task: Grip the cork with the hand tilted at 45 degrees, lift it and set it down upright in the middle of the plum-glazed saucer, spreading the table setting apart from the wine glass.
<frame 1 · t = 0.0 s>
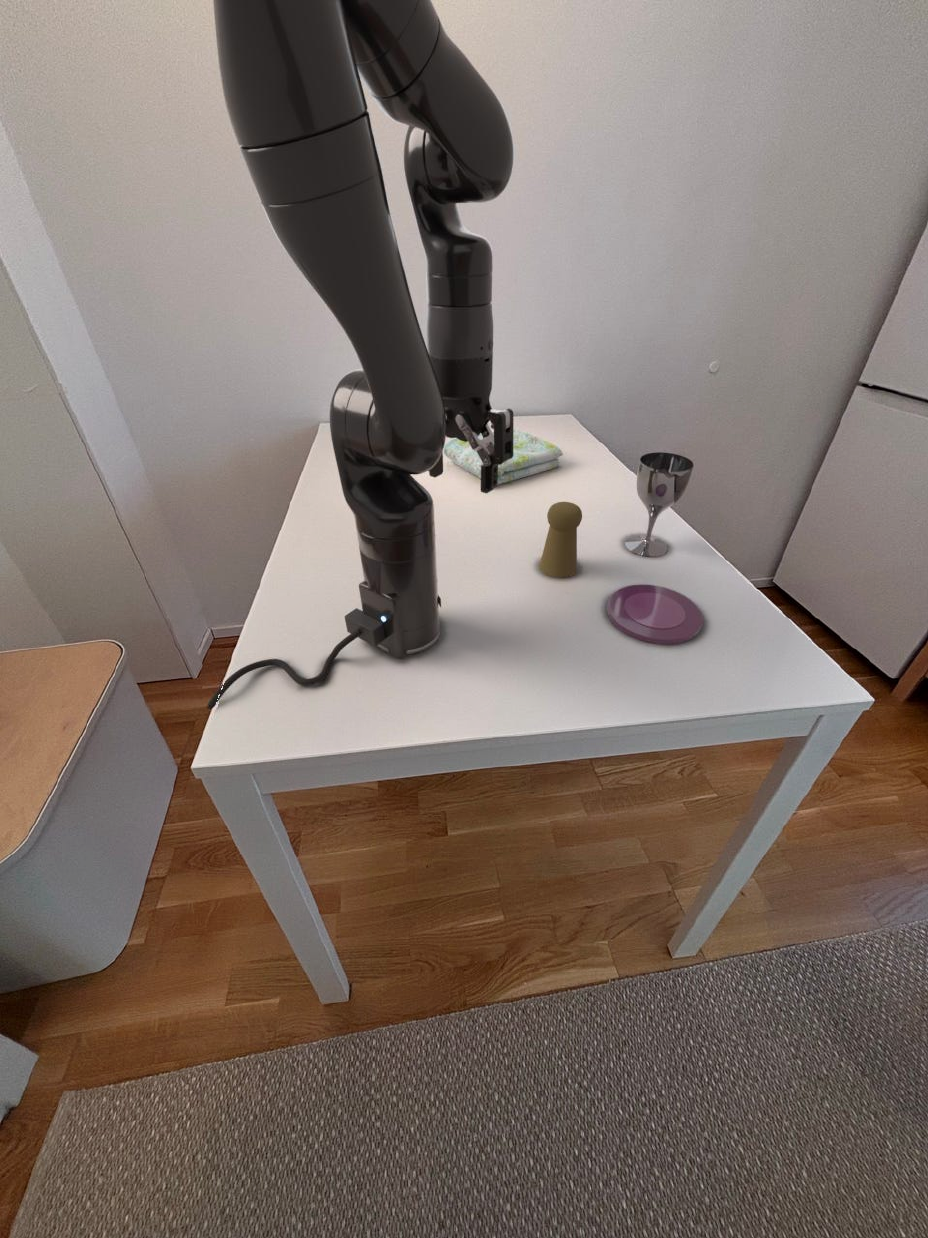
hand: (461, 482, 69), 17 cm above the table, tool pointing down, fingers open, 8 cm apart
towel: (502, 465, 118), on the table
saucer: (653, 614, 74), on the table
cork: (557, 568, 84), on the table
wine glass: (645, 547, 89), on the table
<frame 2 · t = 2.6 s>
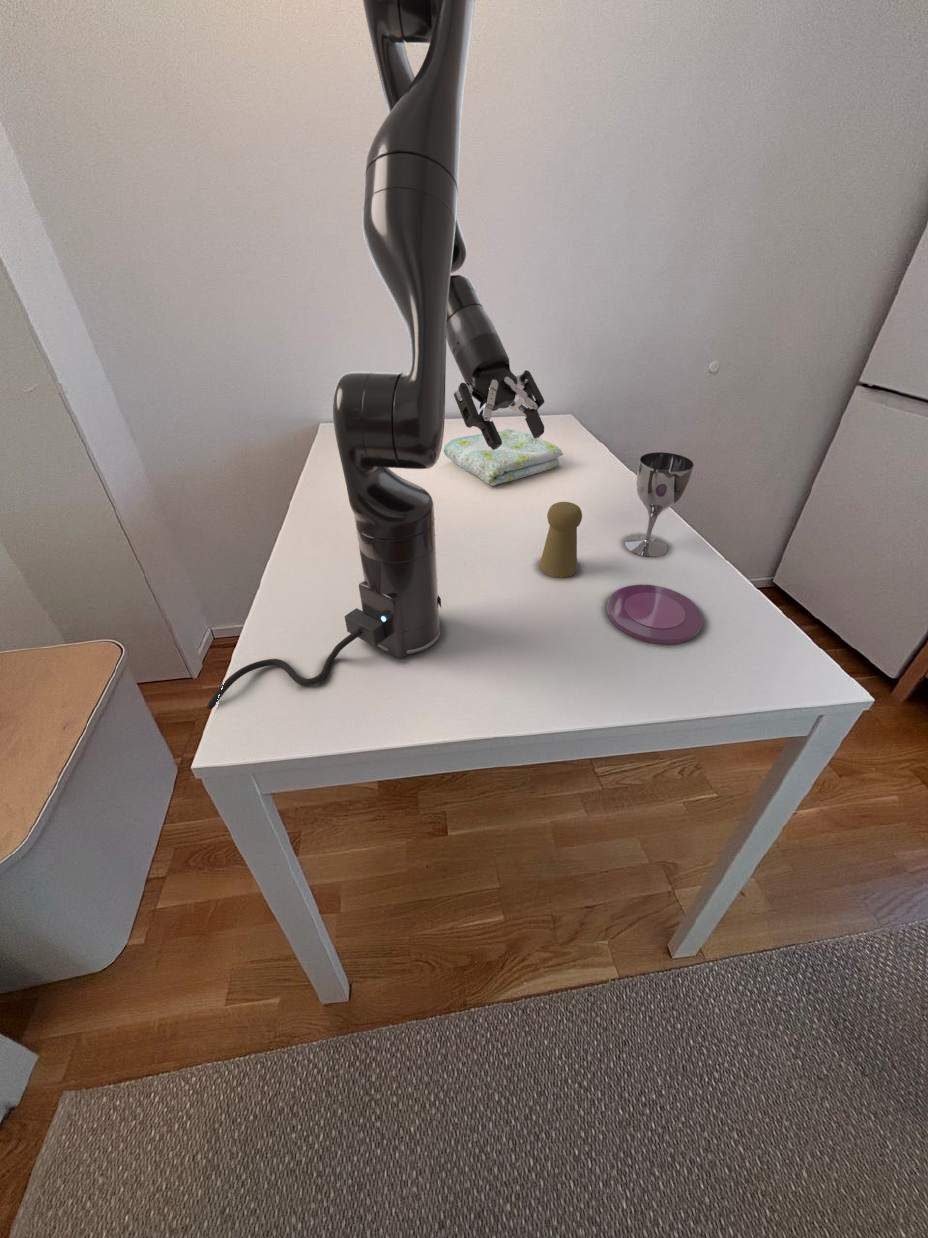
hand: (519, 441, 80), 17 cm above the table, tool tilted 45°, fingers open, 8 cm apart
nothing on the table moved.
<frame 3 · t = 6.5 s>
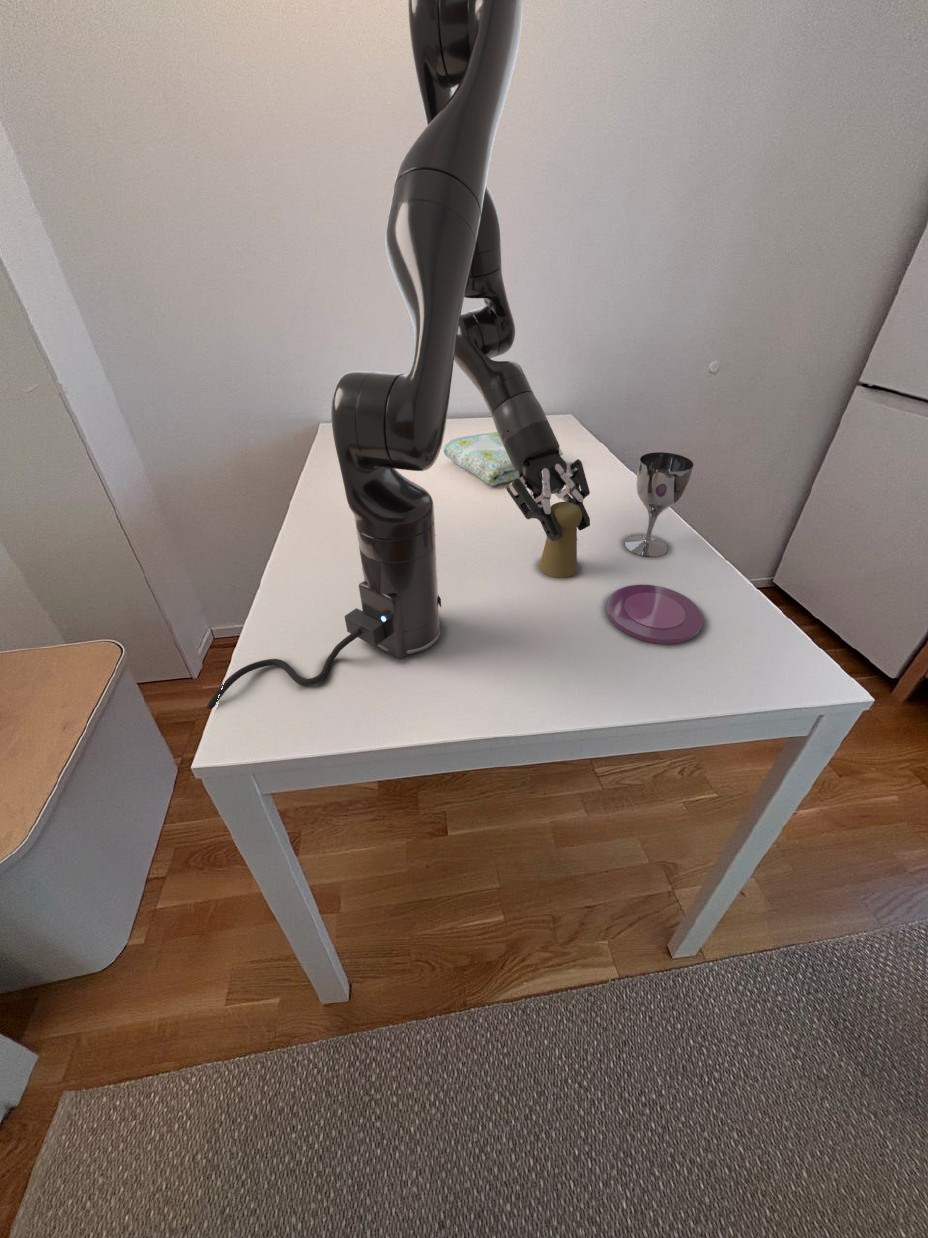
hand: (571, 532, 78), 7 cm above the table, tool tilted 45°, fingers closed on cork, 5 cm apart
cork: (557, 568, 84), on the table, touching gripper
everything else where it was.
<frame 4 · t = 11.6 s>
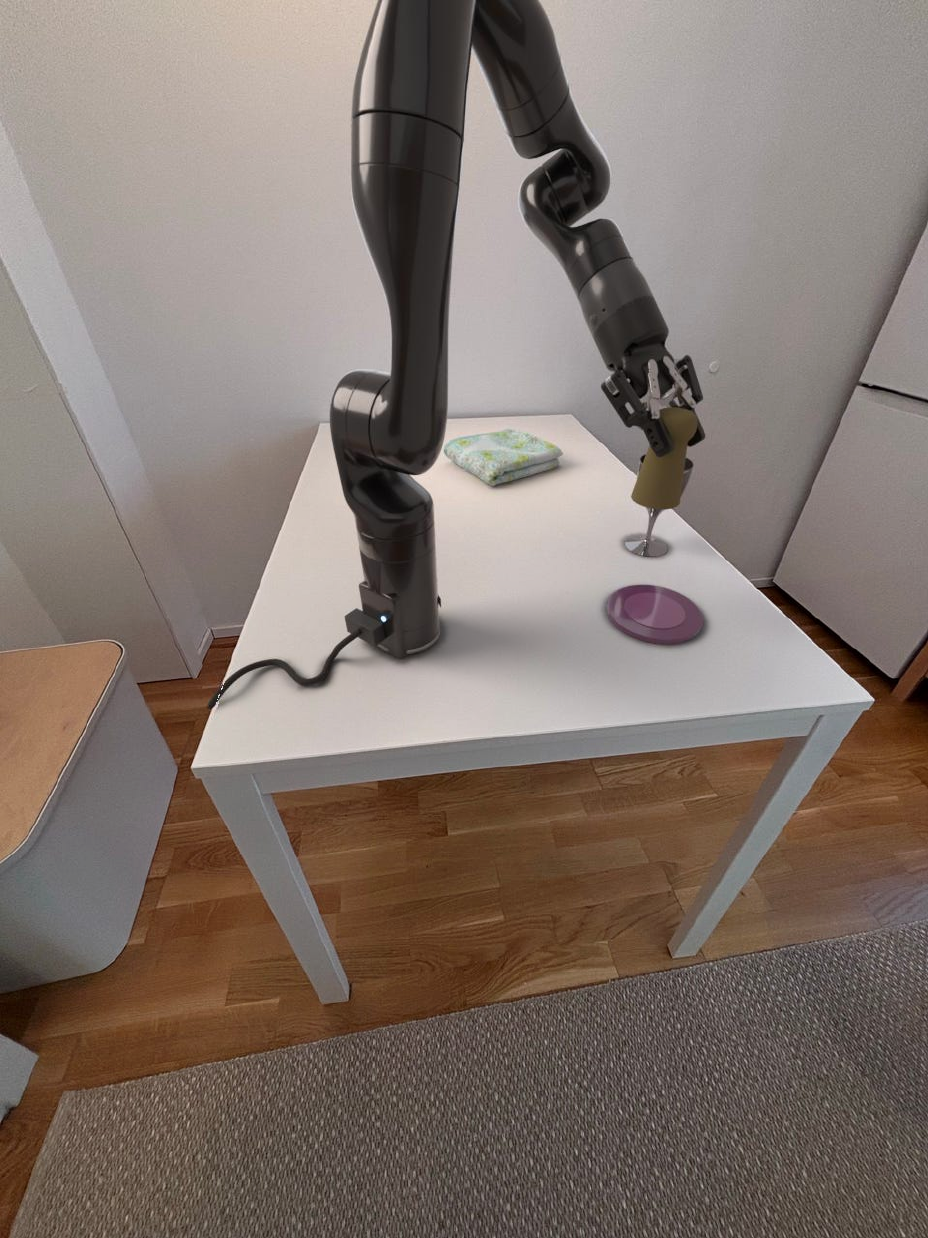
hand: (682, 447, 60), 24 cm above the table, tool tilted 45°, fingers closed on cork, 5 cm apart
cork: (654, 500, 66), point 16 cm above the table, touching gripper
everything else where it was.
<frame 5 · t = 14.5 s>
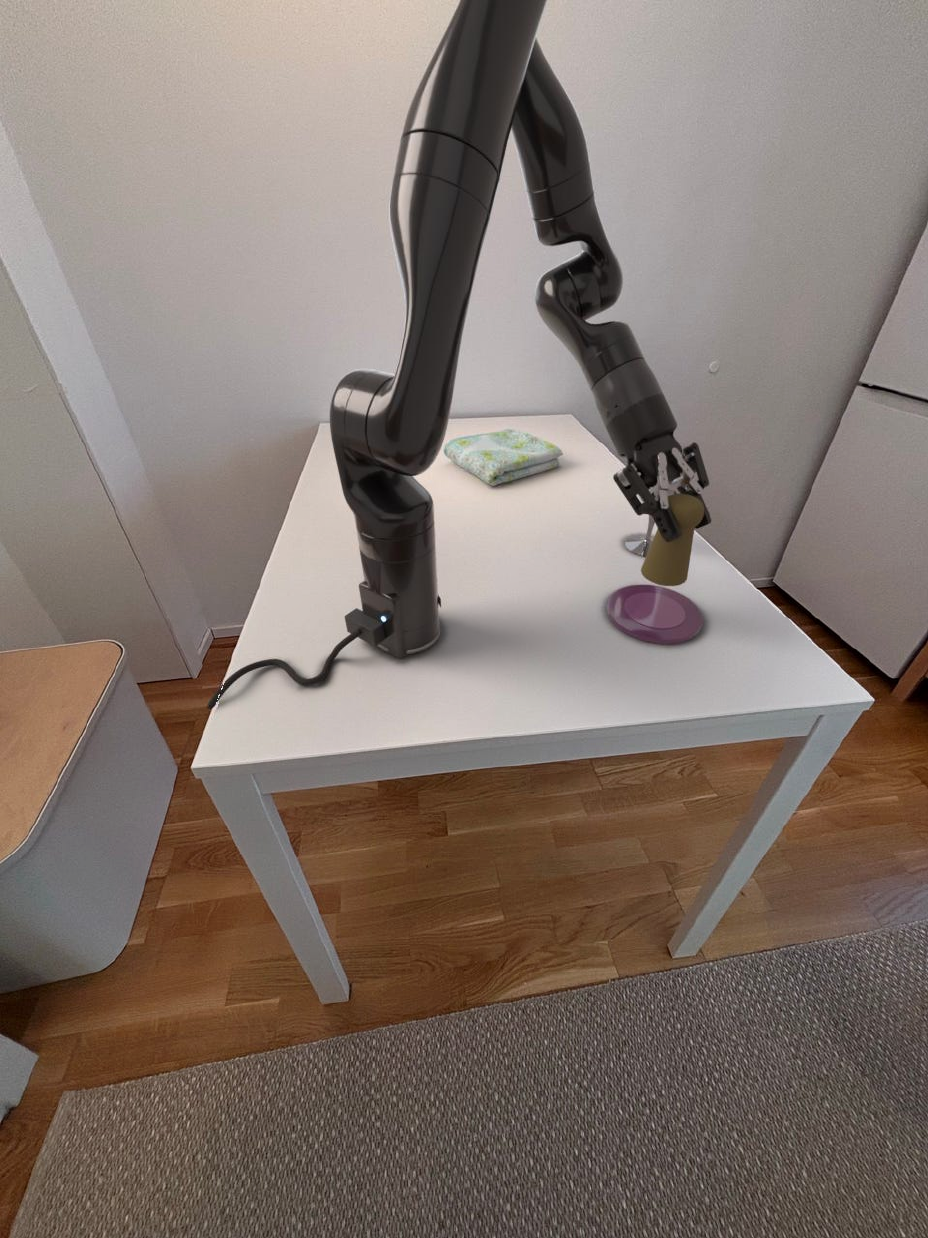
hand: (689, 532, 64), 14 cm above the table, tool tilted 45°, fingers closed on cork, 5 cm apart
cork: (663, 574, 70), point 7 cm above the table, touching gripper
everything else where it was.
when the fingers open (8 cm above the table, at t = 16.6 s): cork stays where it is, resting on saucer.
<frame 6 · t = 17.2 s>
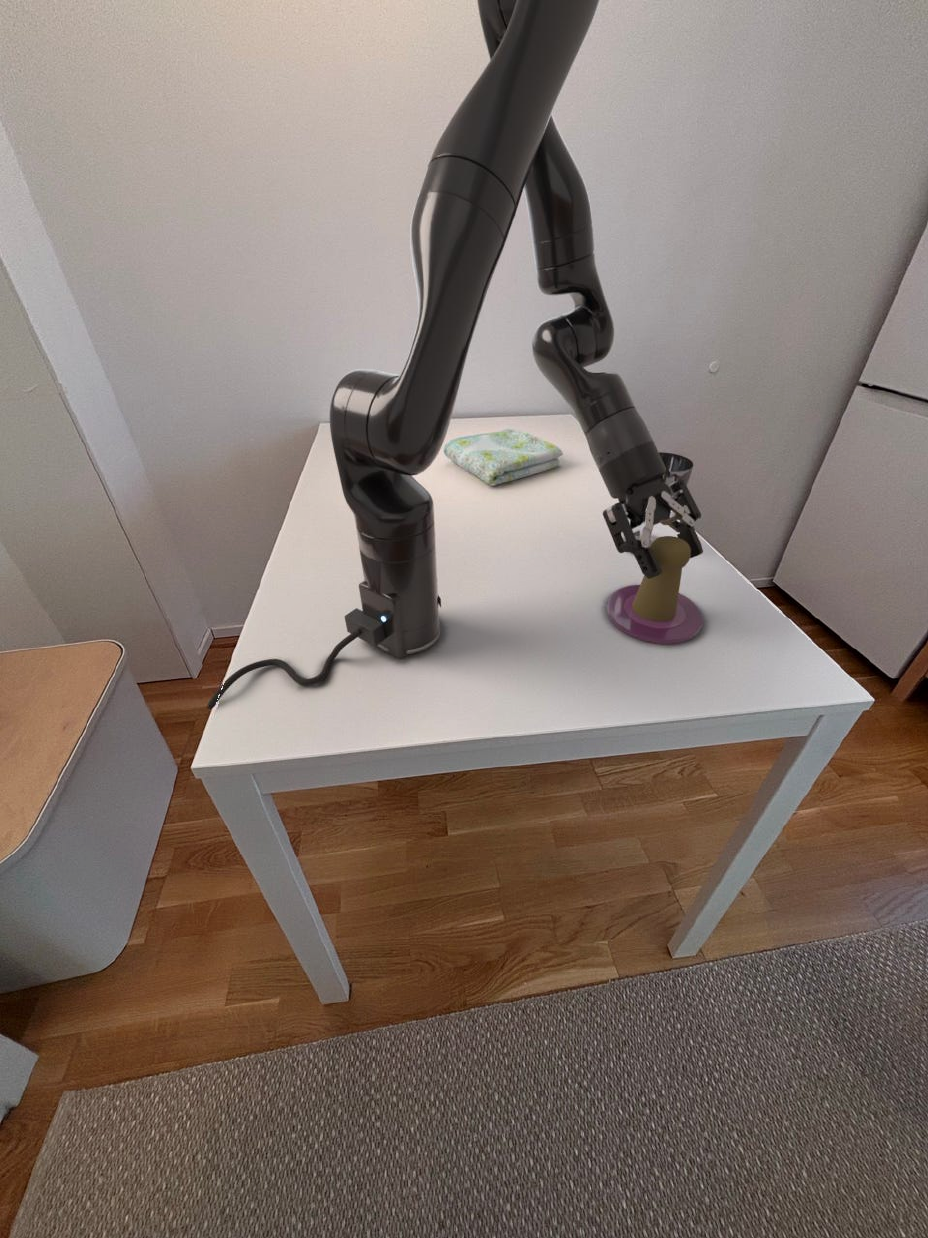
hand: (676, 565, 68), 9 cm above the table, tool tilted 45°, fingers open, 8 cm apart
cork: (653, 609, 74), point 1 cm above the table, touching saucer
everything else where it was.
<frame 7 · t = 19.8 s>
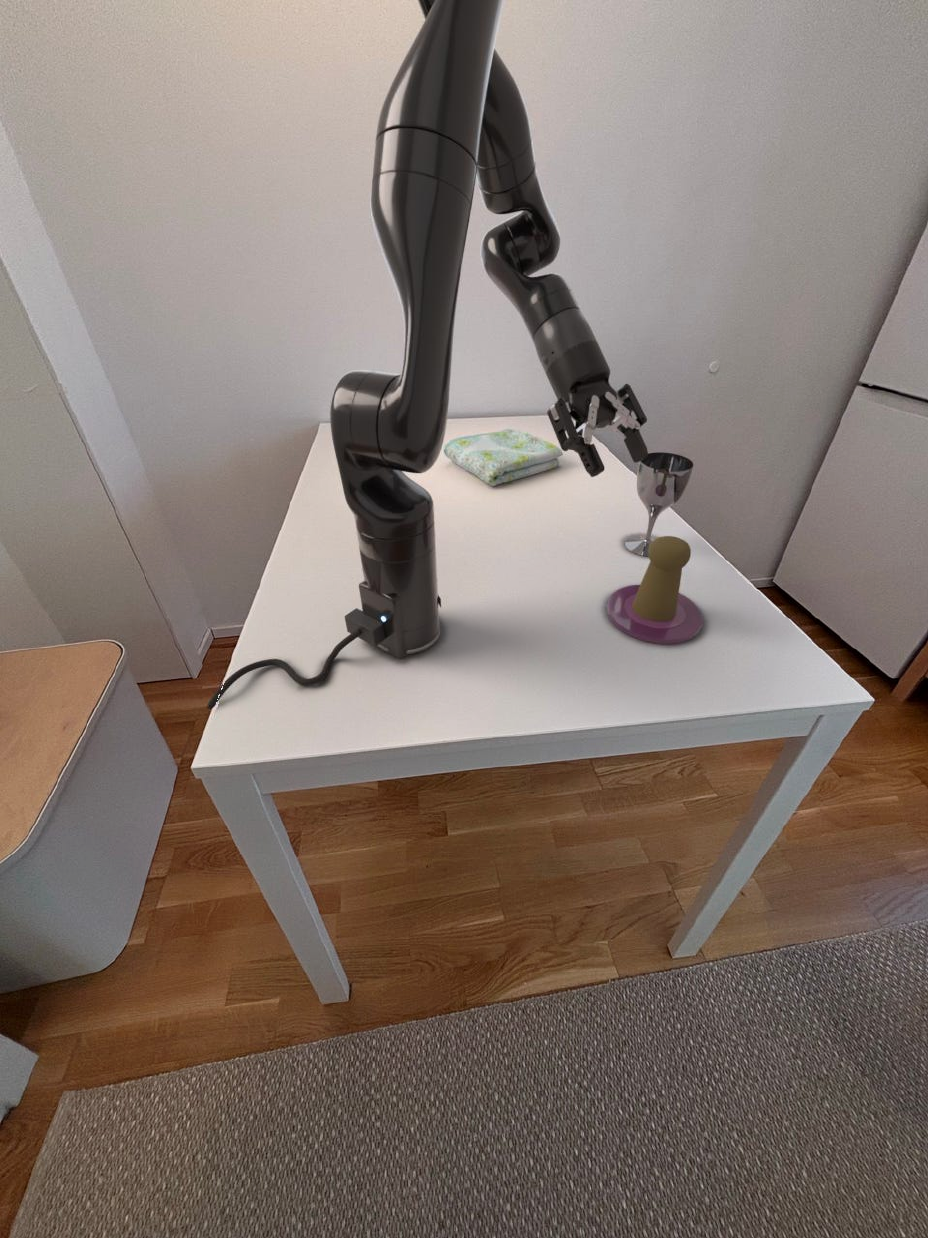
hand: (620, 466, 69), 19 cm above the table, tool tilted 45°, fingers open, 8 cm apart
nothing on the table moved.
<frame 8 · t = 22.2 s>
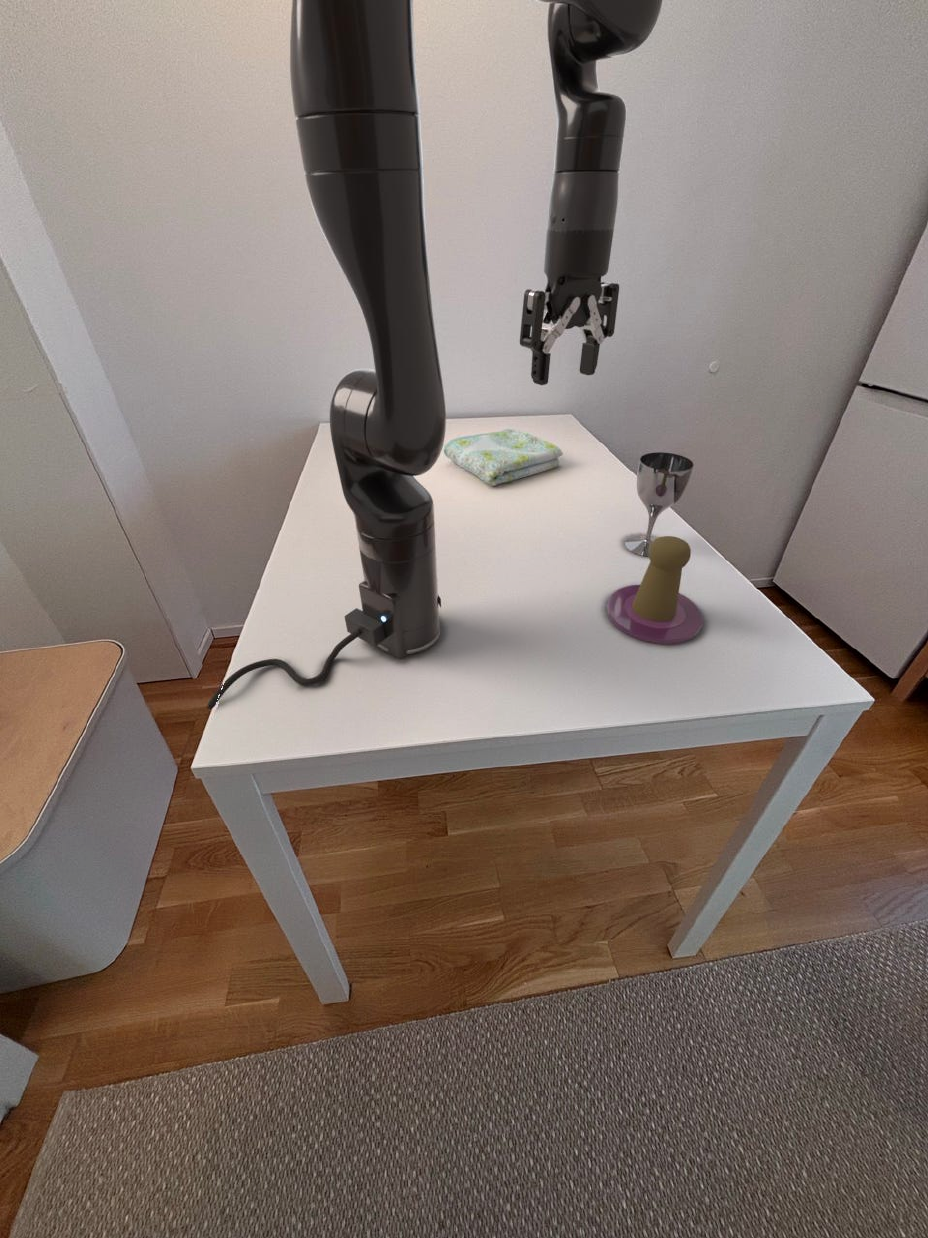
hand: (564, 378, 69), 28 cm above the table, tool pointing down, fingers open, 8 cm apart
nothing on the table moved.
at the end: cork 0.3 cm off-centre on the saucer, point 0.7 cm above the saucer's base; cork tilted 0°; the gripper is holding nothing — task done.
